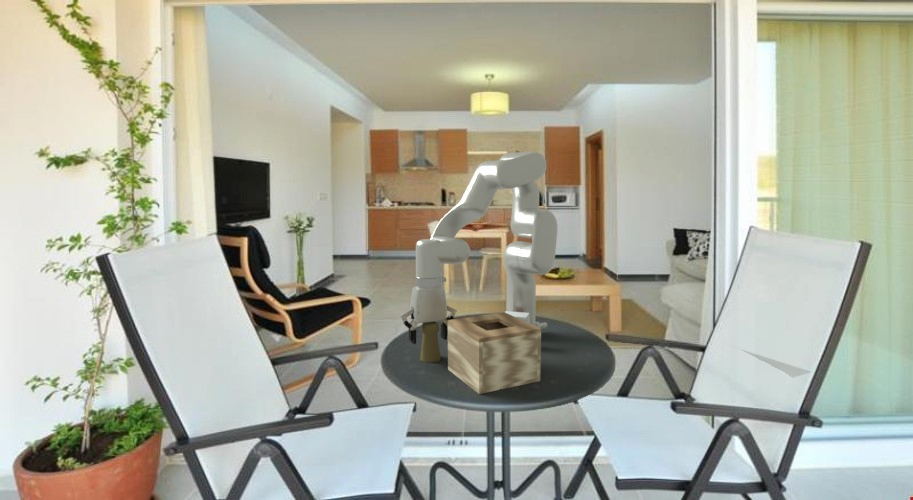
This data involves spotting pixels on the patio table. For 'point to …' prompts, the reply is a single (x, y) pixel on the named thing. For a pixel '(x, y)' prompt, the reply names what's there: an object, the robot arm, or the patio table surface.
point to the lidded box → (494, 351)
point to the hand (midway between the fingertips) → (428, 340)
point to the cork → (430, 342)
